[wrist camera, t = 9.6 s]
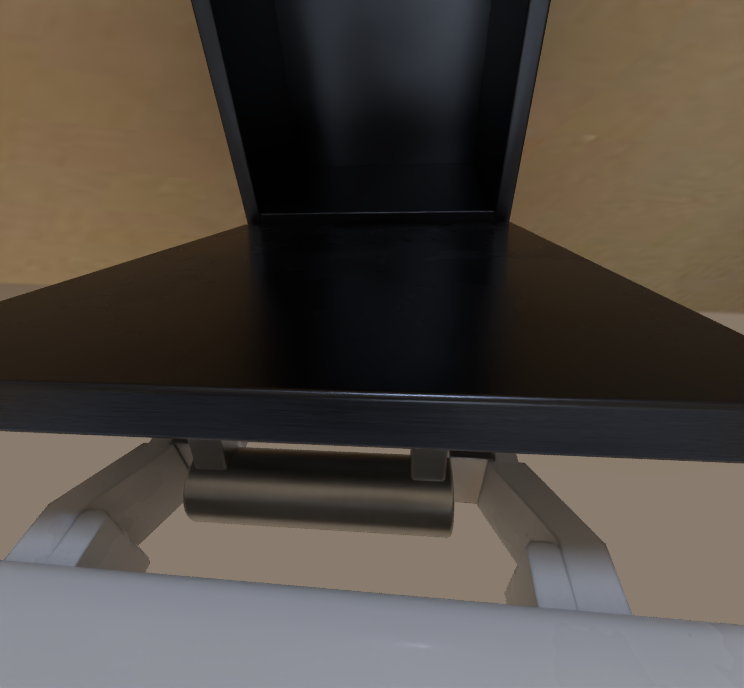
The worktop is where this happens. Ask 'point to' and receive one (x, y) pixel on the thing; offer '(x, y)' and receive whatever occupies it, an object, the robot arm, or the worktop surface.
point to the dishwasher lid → (368, 366)
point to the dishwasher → (374, 105)
